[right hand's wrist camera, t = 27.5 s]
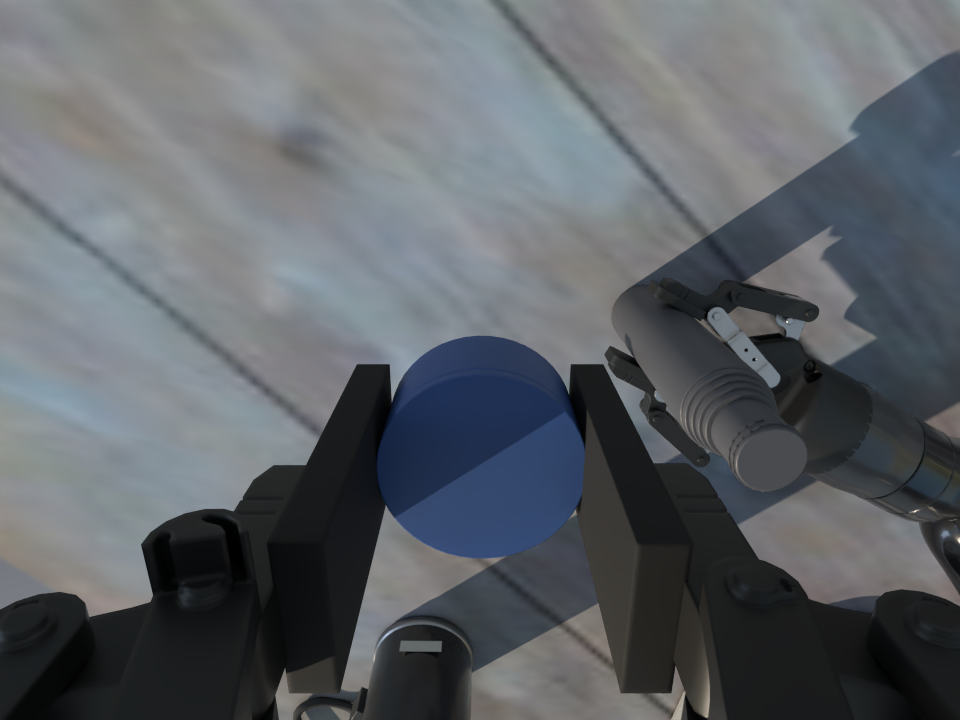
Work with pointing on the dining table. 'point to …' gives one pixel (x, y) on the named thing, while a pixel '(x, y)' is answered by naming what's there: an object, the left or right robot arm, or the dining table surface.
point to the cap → (481, 449)
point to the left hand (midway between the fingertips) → (630, 322)
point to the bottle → (711, 391)
